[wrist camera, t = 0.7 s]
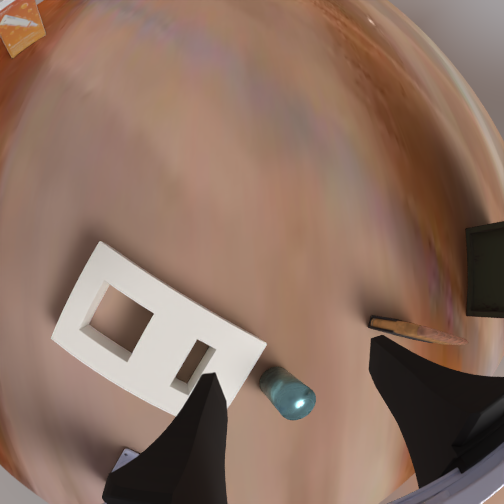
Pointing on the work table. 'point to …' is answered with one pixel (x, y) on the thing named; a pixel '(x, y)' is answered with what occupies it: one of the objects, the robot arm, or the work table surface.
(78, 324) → the bore block
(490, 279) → the dark green bin
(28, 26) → the small box
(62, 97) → the work table surface
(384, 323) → the ammunition clip
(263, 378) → the teal cylinder
